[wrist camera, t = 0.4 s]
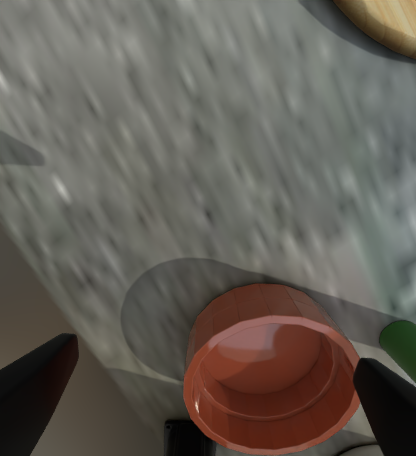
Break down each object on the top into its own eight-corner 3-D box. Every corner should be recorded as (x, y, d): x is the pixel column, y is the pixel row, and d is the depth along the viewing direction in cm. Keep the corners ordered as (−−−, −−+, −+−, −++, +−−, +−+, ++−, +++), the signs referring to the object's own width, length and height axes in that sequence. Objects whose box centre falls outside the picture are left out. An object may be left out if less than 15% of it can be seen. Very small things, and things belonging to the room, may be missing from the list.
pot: (316, 401, 27) (342, 459, 22) (186, 395, 27) (180, 451, 22) (345, 285, 23) (386, 321, 18) (192, 276, 23) (186, 310, 17)
